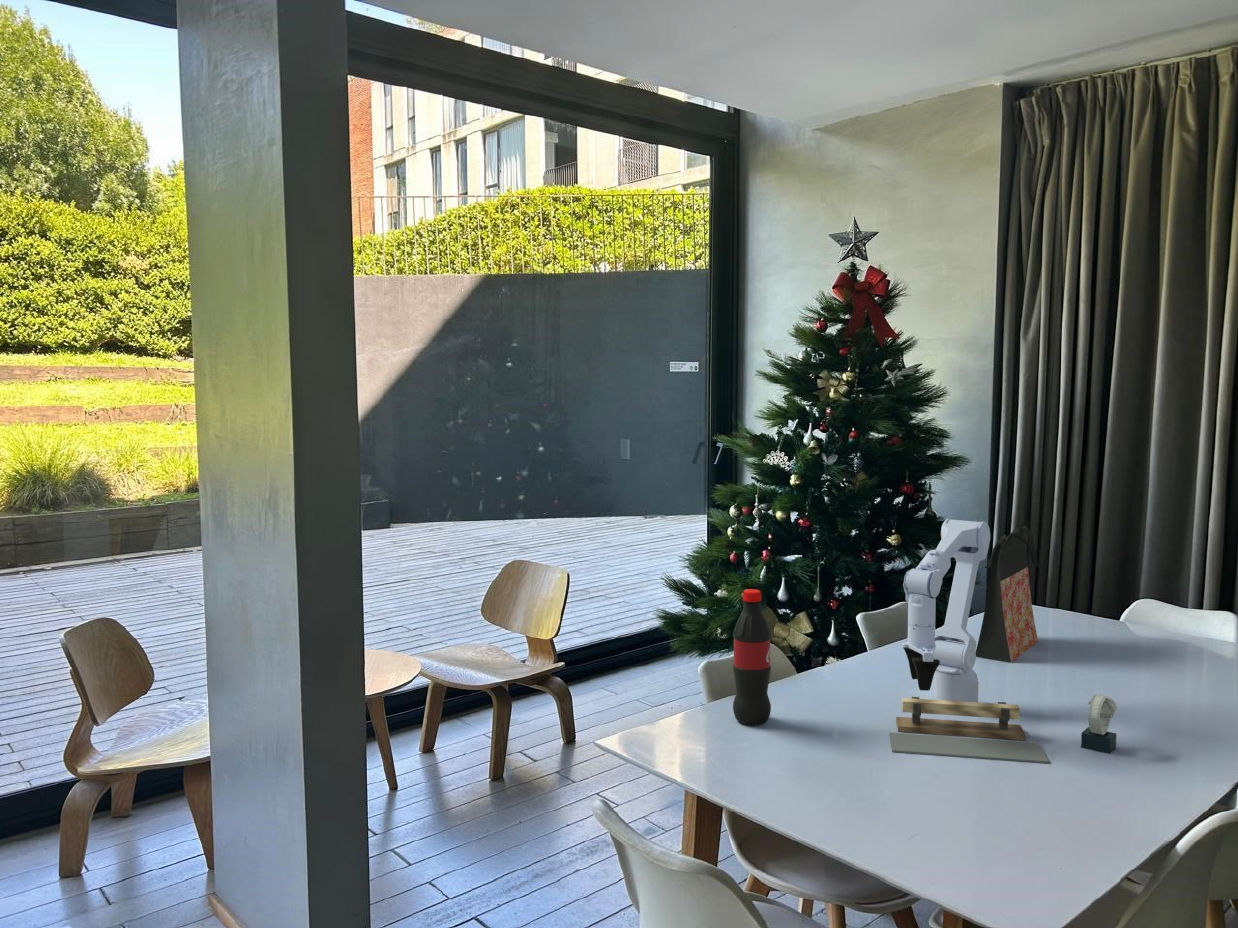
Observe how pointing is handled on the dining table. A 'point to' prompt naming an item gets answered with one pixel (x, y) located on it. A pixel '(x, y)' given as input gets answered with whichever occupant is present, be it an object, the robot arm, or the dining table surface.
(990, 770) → the dining table surface
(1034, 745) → the mat
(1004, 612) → the gift bag
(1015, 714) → the rail
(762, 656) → the cola bottle
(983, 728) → the rack
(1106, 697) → the watch
